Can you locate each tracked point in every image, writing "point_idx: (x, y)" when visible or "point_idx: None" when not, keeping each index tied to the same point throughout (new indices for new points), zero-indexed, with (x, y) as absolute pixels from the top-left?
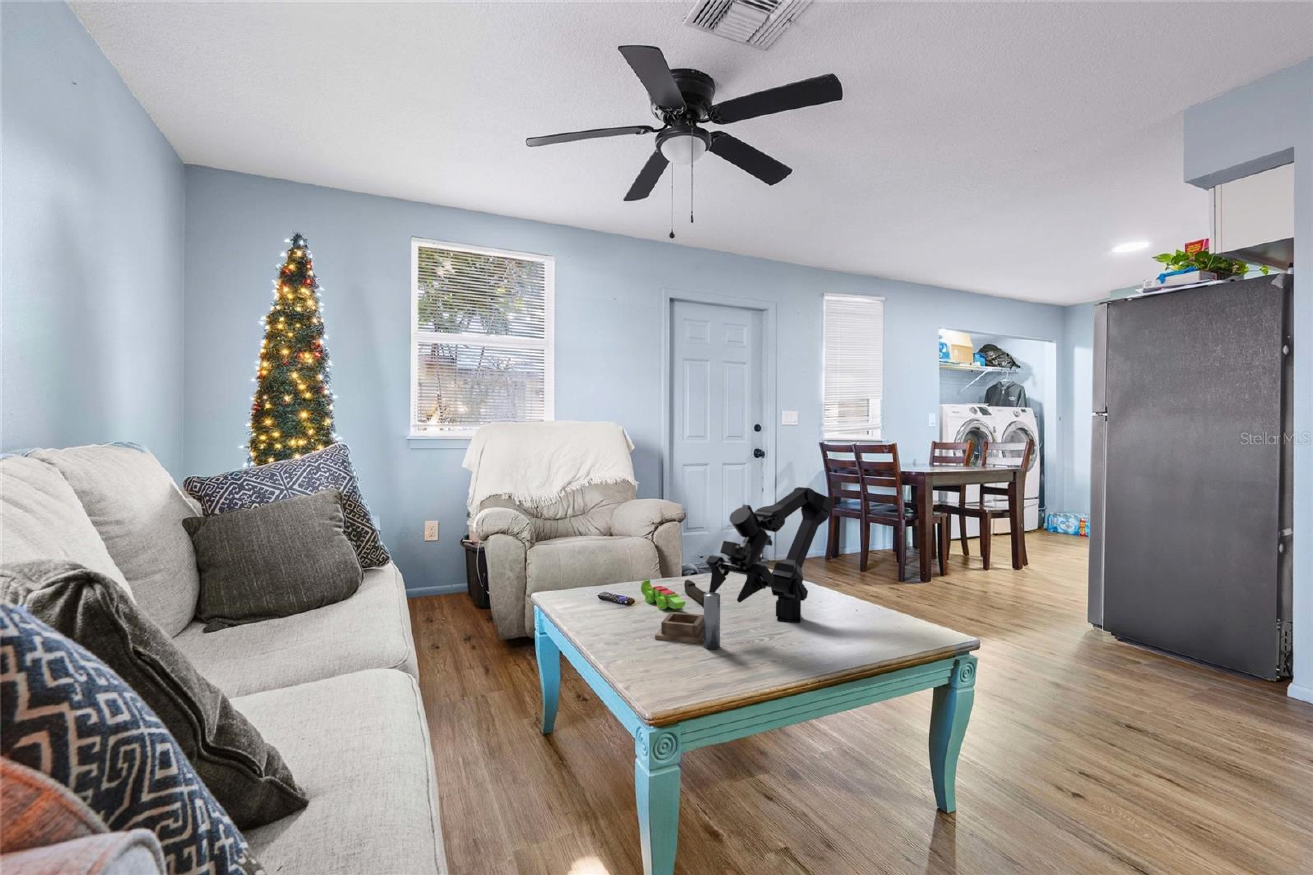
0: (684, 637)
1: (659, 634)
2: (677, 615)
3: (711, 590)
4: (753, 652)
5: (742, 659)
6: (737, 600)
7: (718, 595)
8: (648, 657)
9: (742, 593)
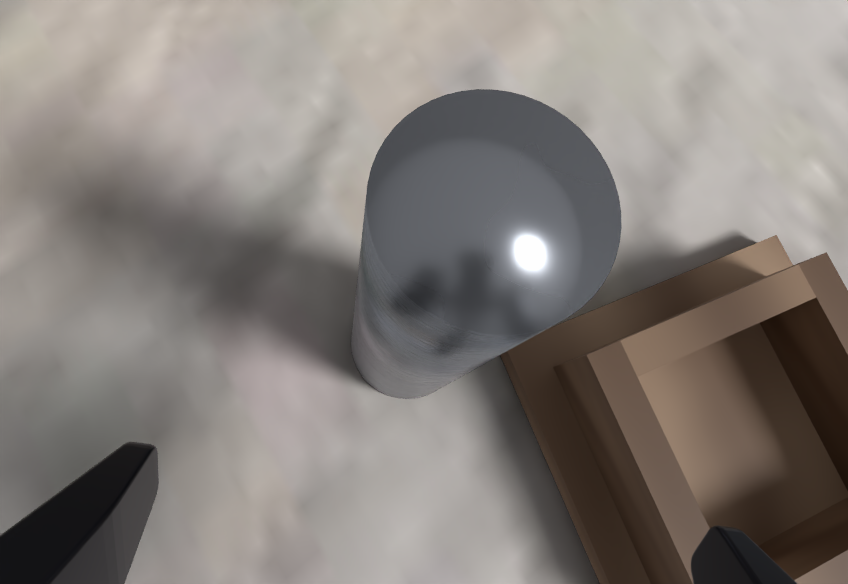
0: (616, 312)
1: (767, 260)
2: None
3: (734, 567)
4: (109, 440)
5: (122, 276)
6: (145, 444)
7: (386, 218)
8: (588, 6)
9: (16, 529)
